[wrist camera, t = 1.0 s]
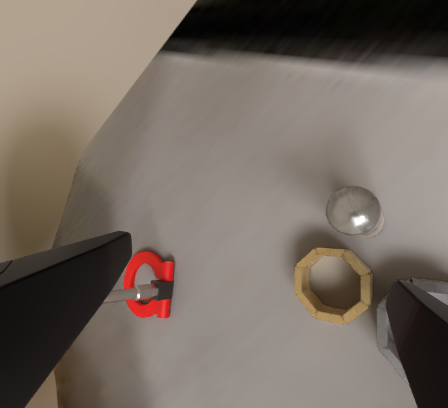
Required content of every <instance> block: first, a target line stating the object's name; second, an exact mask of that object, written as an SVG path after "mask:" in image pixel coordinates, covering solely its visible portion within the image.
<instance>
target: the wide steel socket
mask: <svg viewBox="0 0 448 408" xmlns="http://www.w3.org/2000/svg"><path fill="white" fill-rule="evenodd" d="M406 281H408V282H411V283H413V284H414V285H416V286H418V287H419V288H421V289H422V290H424V291H427V292H435V293H442V294H448V282H447V281H438V280H429V279H420V278H411V280H410V279H409V278H408V279H407V280H406ZM388 294H389V293H388ZM388 294H387V295H386V296H384V297H383V298H382V299H380V301H379V303H378V305H377V347H378V348H379V351H380V353H381V354H382V355H383V356H384V357H385V358H386V359H387V361H388V362H389V363H390V364H391V365H392V366H393V368H394V369H395V370H396V371H397V372H398V373H399V374H400V376H401V377H402V378H403V379H404V380H405V381H406V383H407V384H408V385H409V383H408V380H407V377H406V375H405V372H404V369H403V367H402V364H401V361H400V359H399V356H398V353H397V349H396V346H395V344H394V343H393V342H392V341H391V340H390V339H389V338H388V315H387V311H386V299H387V296H388ZM409 386H410V385H409Z"/></svg>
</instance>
